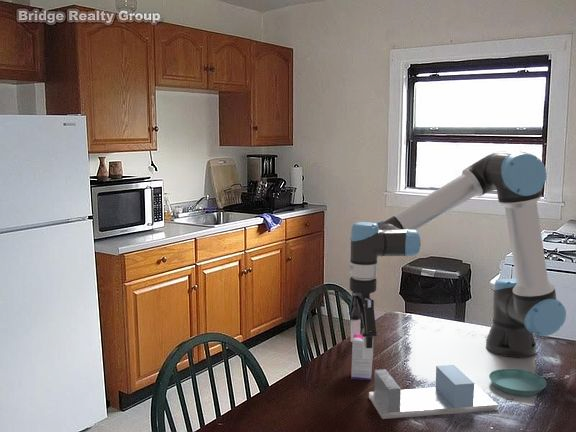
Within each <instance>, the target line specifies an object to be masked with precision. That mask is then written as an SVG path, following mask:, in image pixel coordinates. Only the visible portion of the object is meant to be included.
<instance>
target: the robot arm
mask: <svg viewBox="0 0 576 432" xmlns="http://www.w3.org/2000/svg"><path fill="white" fill-rule="evenodd" d="M546 181H547V169H546V166H545V165H544V163H543V161H542V160H541V159H540V158H539V157H537V156H536V155H534V154H532V153H528V152H523V151H506V150H505V151H503V150H502V151H496V152H493V153H490V154H488V155H485V156H484V157H483V158H480V159H479V160H477V161H475V162H474V163H473V164H471V165H469V166H468V167H465V168H464V169H463V170H462V172H461V175H459V176H458V177H455V178H454V179H453V180H451V181H449V182H447V183H446V184H444V185H443V186H441V187H439V188H437V189H436V190H434V191H433V192H431V193H429V194H428V195H425V196H424V197H423V198H421V199H420V200H418V201H416V202H415V203H413V204H411V205H410V206H408V207H406V208H405V209H402V210H401V211H399V212H398V213H396V214H395V215H393V216H391V217H390V218H388V219H386V220H379V221H376V222H372V221H358V222H355V223H353V224H352V226H351V231H350V239H349V240H350V263H349V264H350V265H348V266H347V267H348V270H349V275H350V276H351V277H349V290H350V291H351V293H352V294H351V298H350V299H351V300H350V304H349V311H348V315H349V316H350V342H351V343H353V337H354V334H358V335H362V337H363V359H372V360H373V358H374V337H377V327H376V325H377V324H376V318H375V307H374V306H375V300H374V299H372V298H371V295H370V294H373V293H375V292H376V291H377V282H378V281H377V278H376V277H377V276H378V257H405V258H407V257H409V256H410V257H411V256H412V257H413V256H417V255H418V254H419V253H420V251H421V235H420V233H419V230H420V229H422V228H424V227H425V226H426V225H429V224H431V223H432V222H433V221H436V220H437V219H439V218H440V217H442V216H444V215H446V214H447V213H449V212H450V211H453V210H454V209H455V208H457V207H459V206H461V205H462V204H464V203H466V202H468V201H469V200H470V199H472V198H474V197H482V196H483V195H485V194H488V193H490V192H493V191H496V194H497V201H498V203H499V204H501V205H502V206H503V207H504V208H505V215H506V221H507V228H508V229H507V230H508V234H509V241H510V242H509V243H510V247H511V255H512V261H513V266H514V273H515V278H501V279H497V280H496V281H495V282H494V287H493V306H492V307H493V308H492V325H491V327H490V329H489V332H488V335H487V337H486V341H485V347H486V349H487V350H488V351H490V352H492V353H494V354H497V355H499V356H504V357H508V358H509V357H510V358H528V357H533V356H534V355H536V353H537V344H536V339H535V336H534V335H536V336H539V337H548V336H552V335H553V334H556V333H557V332H558V331H560V328H562V327H563V326H564V324H565V321H566V318H567V310H566V308H565V306H564V304H563V303H562V302H561V301H559V300H558V298H557V293H556V287H555V285H554V284H553V283H551V282H550V281H549V278H548V272H547V265H546V258H545V250H544V243H543V237H542V229H541V222H540V216H539V209H538V208H539V207H538V202H539V200H540V199H541V198H542V197H543V196H542V189H543V188H544V185H545V183H546ZM361 320H362V321H361ZM361 323H362V326H363V333H362V334H361Z"/></svg>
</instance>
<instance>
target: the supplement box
mask: <svg viewBox="0 0 576 432" xmlns="http://www.w3.org/2000/svg"><path fill="white" fill-rule="evenodd" d="M362 335H363V334H360V335H358V334H354V337H353V342H352V347H351V348H352V350H351V372H350V373H351V375H350V376H351V377H350V379H351V380H352V379H353V380H360V381H361V380H362V381H371V380H372V373H373V359H363V337H362Z"/></svg>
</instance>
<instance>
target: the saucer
mask: <svg viewBox="0 0 576 432" xmlns="http://www.w3.org/2000/svg"><path fill="white" fill-rule="evenodd" d="M488 377H489V380H490V381H491V383H492V384H493V385H494V386H495V387H496V388H497V389H498V390H500V391H501V392H504V393H505V394H509V395H512V396H519V397H524V396H525V397H528V396H529V397H530V396H534V395H536V394H538V393H540V392H541V391H543V389H545V388H546V386H547V385H548V384H547V380H546V379H545V378H544V377H543V376H541V375H539V374H537V373H534V372H532V371H528V370H525V369H521V368H520V369H518V368H500V369H496V370H492V371H491V372H490V373H489V375H488Z"/></svg>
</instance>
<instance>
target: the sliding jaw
mask: <svg viewBox="0 0 576 432" xmlns="http://www.w3.org/2000/svg"><path fill="white" fill-rule="evenodd" d="M474 385H475V383H474V381H472V380H471V379H470V378H469V377H468V376H467V375H466V374H465V373H464V372H463V371H461V370H460V369H459V368H458V366H456V365H455V364H445V365H435V387H436V388H437V389H438V390H439V391H440V393H441V394H442V395H443V396H444V397H445V398H446V399H447V400H448V401H449V402H450V403H451V404H452V406H453V407H454V408H456V407H470V406H473V405H474Z"/></svg>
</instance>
